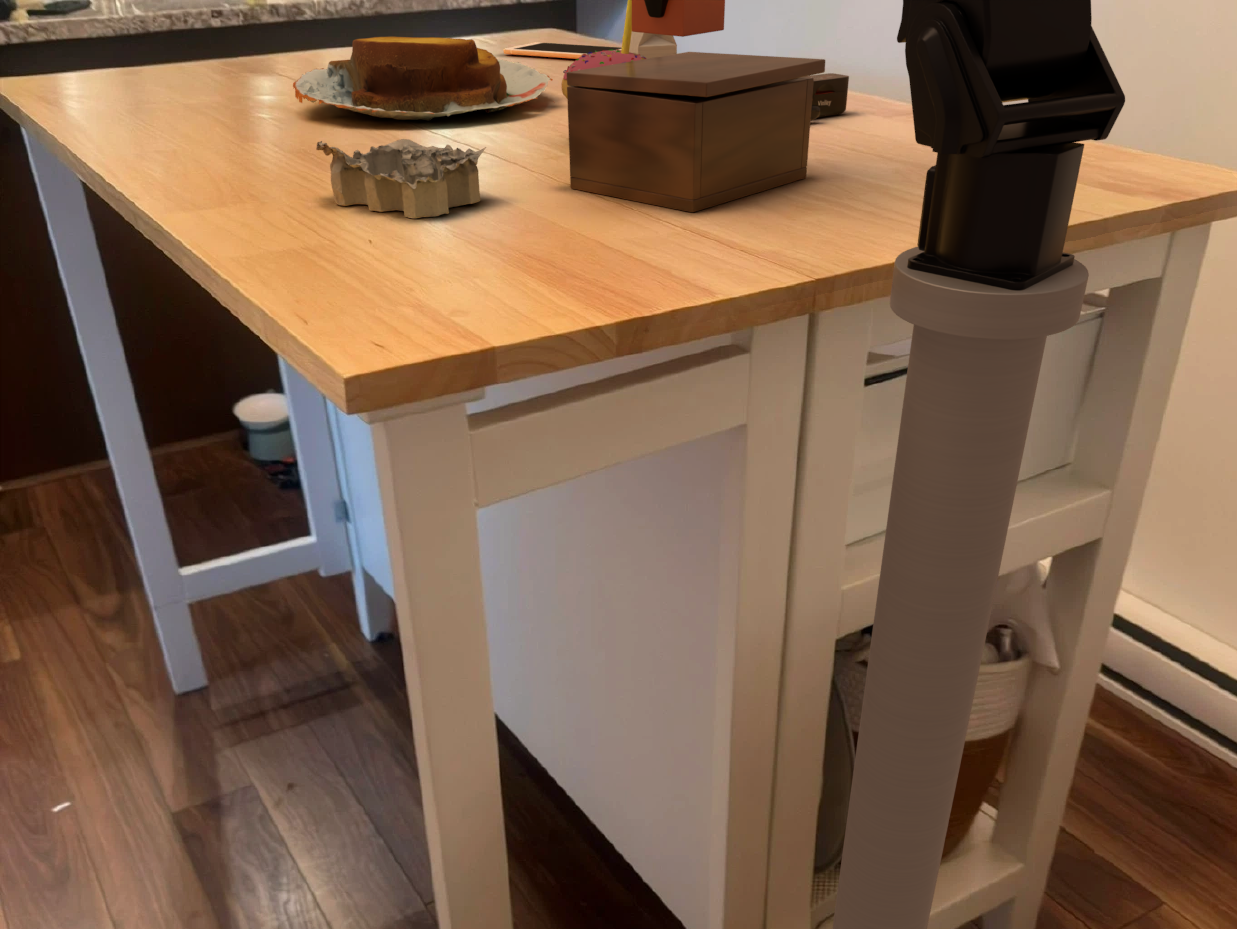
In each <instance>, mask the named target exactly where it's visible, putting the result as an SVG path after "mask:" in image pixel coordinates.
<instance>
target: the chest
mask: <svg viewBox="0 0 1237 929" xmlns="http://www.w3.org/2000/svg"><path fill="white" fill-rule="evenodd" d="M813 80H814V78H808V77H800V78H796V79H791V80H786V81H781V82H777V83H772V84H767V85H762V86H757V87H753V88H748V89H743V90H738V91H734V92H729V93H724V94H719V95H715V96H710V97H697V96H685V95H673V94H662V93H650V92H638V91H626V90H614V89H602V88H591V87H579V86H568V87H567V98H566V99H567V100H566V101H567V124H568V127H567V128H568V152H569V153H568V155H569V157H568V158H569V177H570V178H569V180H570V181H569V185H570V189H572V190H577V191H582V192H587V193H593V194H598V195H602V196H607V197H613V198H618V199H623V200H628V201H633V202H638V203H642V204H647V205H653V206H658V207H664V208H668V209H673V210H677V211H684V212H688V213H695V212H699V211H702V210H706V209H709V208H712V207H715V206H718V205H722V204H725V203H729V202H732V201H735V200H738V199H742V198H745V197H748V196H751V195H754V194H758V193H761V192H765V191H768V190H771V189H775V188H777V187H782V186H784V185H787V184H790V183H794V182H797V181H800V180H804V179H806V178H807V171H808V160H809V148H810V134H811V121H812V120H811V107H812V94H813Z"/></svg>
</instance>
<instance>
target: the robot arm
mask: <svg viewBox="0 0 1237 929" xmlns="http://www.w3.org/2000/svg"><path fill="white" fill-rule="evenodd" d="M644 2H645V5H646V9H647V12H648V15H649V16H650V17H655V18H662V17H663V16H664V14H665V11H666V7H667V3H668V0H644ZM1092 16H1093V15H1092V0H902V10H901V19H900V24H899V28H898V31H897V35H896V42H897V43H898V44H903V43H904V44H905V45H904V54H905V55H904V57H905V66H906V70H907V75H908V79H909V89H910V90H909V91H910V100H911V109H912V120H913V128H914V130H913V131H914V137H915V142H916V144H918V145H922V146H926V147H930V148H931V149H932V152H934V153H935V154H936V162H935V164H934V165H932V166H930V167H929V168H928V169H927V171H926V176H925V184H924V189H923V190H924V192H923V197H922V206H921V214H920V220H919V228H918V229H919V230H918V236H917V244H916V247H918V248H919V250H921V251H924V252H922V253H920V254H918V255H915V256H913V257H911V258H909V259H908V265H907V268H909V269H912V270H917V271H922V272H926V273H931V274H936V275H941V276H946V277H951V278H956V279H960V280H965V281H970V282H975V283H980V284H985V285H989V286H994V287H999V288H1004V289H1009V290H1016V291H1019V290H1025V289H1027V288H1029V287H1031V286H1032V285H1034V284H1036V283H1038V282H1040V281H1042V280H1044V279H1046V278H1048V277H1050V276H1052V275H1054V274H1056V273H1058V272H1060V271H1062V270H1064V269H1065V268H1067V267H1069V266H1071V265H1073V262H1074V259H1076V258H1075V257H1076V256H1075V255H1074V254H1073V253H1068V252H1064V249H1065V243H1066V238H1067V233H1068V228H1069V224H1070V218H1071V213H1072V208H1073V203H1074V199H1075V193H1076V189H1077V183H1078V179H1079V173H1080V169H1081V165H1082V164H1081V163H1082V160H1083V154H1084V150H1085V143H1081V142H1085V141H1098V142H1099V141H1103V140H1106V139H1107V138H1108V137H1109V136H1110V134H1111V131H1112V129H1113V128H1114V126H1115V124H1116V121H1117V119H1118V118H1119V116H1120V114H1121V112H1122V110H1123V107H1124V106H1125V103H1126V95H1125V93H1124V91H1123V89H1122V86H1121V84H1120V82H1119V80H1118V78H1117V76H1116V74H1115V71H1114V69H1113V67H1112V65H1111V64H1110V61H1109V60H1108V57H1107V55H1106V53H1105V51H1104V49H1103V47H1102V45H1101V42H1100V41H1099V38H1098V36H1097V34H1096V32H1095V30H1094V28H1093V26H1092V23H1093V22H1092V19H1093V18H1092ZM1018 101H1025V102H1018ZM1010 102H1011V103H1010ZM1012 102H1018V103H1012ZM1004 103H1009V104H1004Z"/></svg>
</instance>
